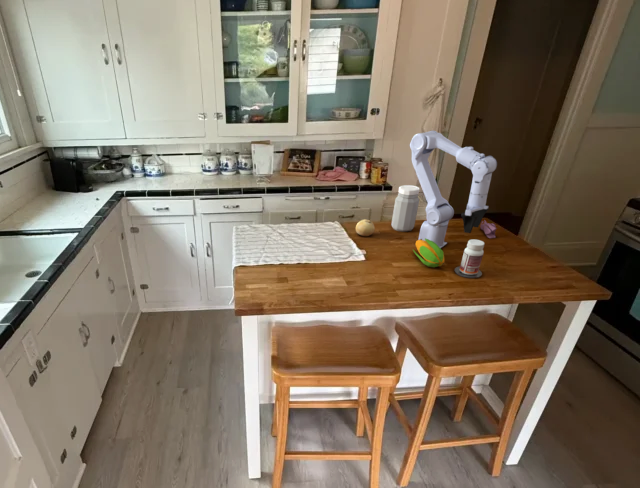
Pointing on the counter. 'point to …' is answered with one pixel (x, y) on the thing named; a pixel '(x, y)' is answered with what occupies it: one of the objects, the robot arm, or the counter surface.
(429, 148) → the robot arm
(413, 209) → the jar
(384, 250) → the counter surface
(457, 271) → the coaster
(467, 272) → the pill bottle
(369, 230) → the onion
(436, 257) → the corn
